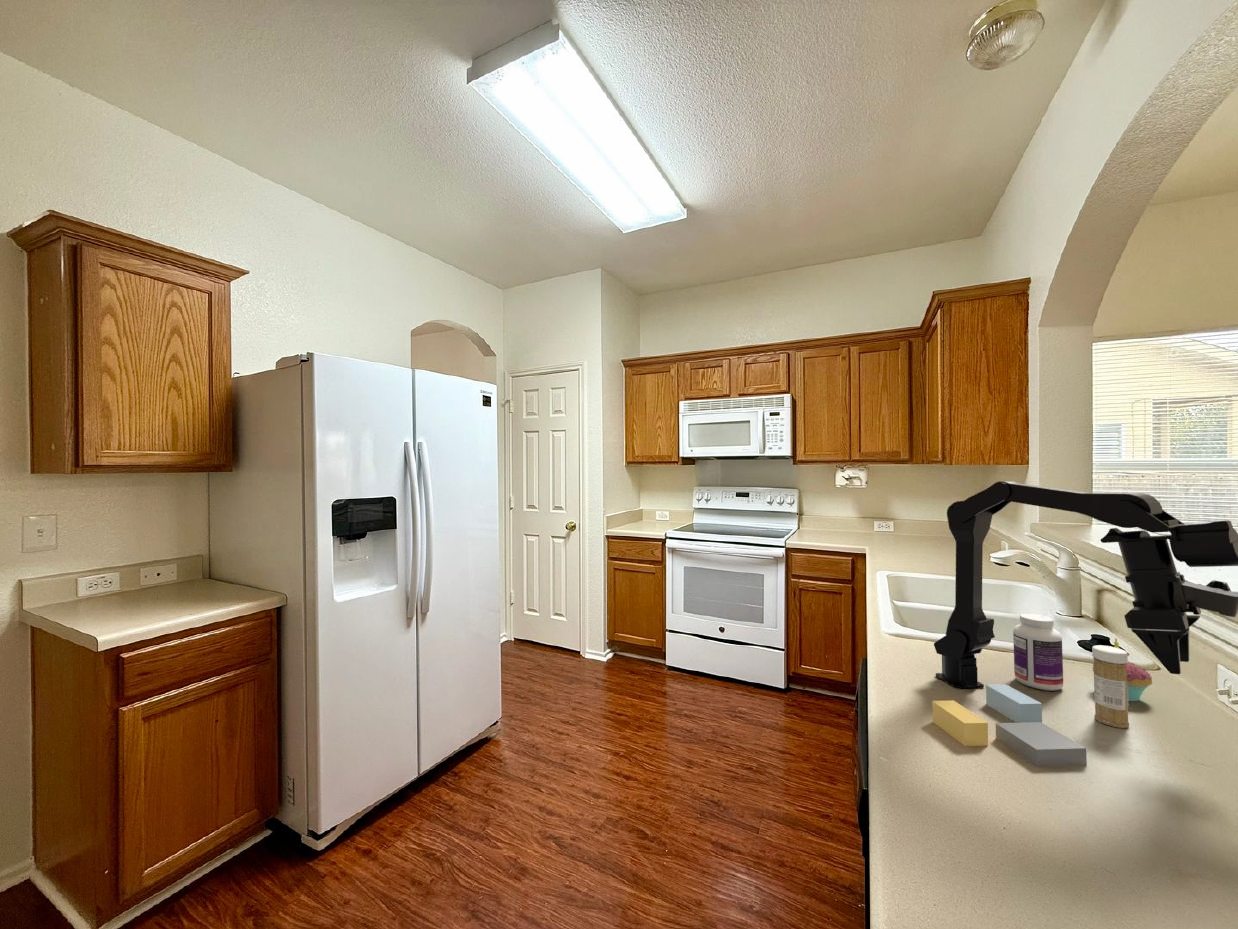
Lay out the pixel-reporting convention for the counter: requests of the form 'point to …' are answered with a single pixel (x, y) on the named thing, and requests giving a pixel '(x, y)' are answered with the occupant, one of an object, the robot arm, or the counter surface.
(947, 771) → the counter surface
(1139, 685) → the cupcake
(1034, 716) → the blue brick
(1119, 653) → the sprinkles bottle
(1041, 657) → the pill bottle
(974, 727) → the ochre brick
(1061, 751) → the base slab
